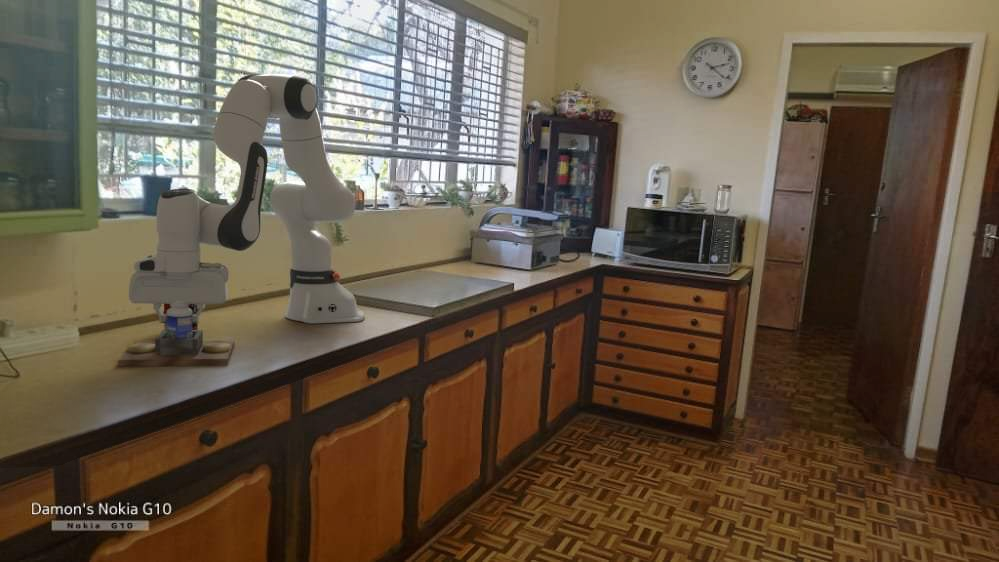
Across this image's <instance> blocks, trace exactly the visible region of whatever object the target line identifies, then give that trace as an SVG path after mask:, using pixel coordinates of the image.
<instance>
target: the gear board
mask: <svg viewBox="0 0 999 562" xmlns="http://www.w3.org/2000/svg"><path fill="white" fill-rule="evenodd" d="M203 333H204V332H203V329H198V330H192V338H167V330H164V329H163V330H161V332H160V333H159V334H158V335H157V336H156V338H155V340H134V341H133V342H132V344H130V345H128V346H127V347H126V350H125V352H124V353H122V355H121V356H120V357H118V360H117V367H119V368H121V367H122V368H126V367H127V368H128V367H130V368H131V367H133V368H134V367H192V366H193V367H194V366H195V367H197V366H200V367H203V366H206V367H207V366H208V367H209V366H228V365H229V362H230V360H231V358H232V354H233V352H234V349H235V346H236V344H235V343H236V341H235V340H204V334H203Z"/></svg>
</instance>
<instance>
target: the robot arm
mask: <svg viewBox="0 0 999 562" xmlns="http://www.w3.org/2000/svg"><path fill="white" fill-rule="evenodd" d="M318 101H319V99H318V91H317V88H316V87H315V85H314V84H313V82H312V81H311V80H310V79H309V78H307V77H304V76H300V75H290V74H282V73H269V74H248V75H247V74H246V75H244V76H242V77H240V78H239V79H238V80H237V81H236V82H234V83H233V85H232V86H231V88H230V90H229V91H228V93H227V95H226V97H225V98H224V100H223V103H222V105H221V106H220V109H219V113H218V115H217V117H216V121H215V123H214V128H213V135H212V137H213V141H214V143H215V145H216V147H217V148H218V150H219V151H220V152H221V153H222V154H223V155H224V156H226V157H227V158H229V159H231V160H232V161H234V162H235V163H237V164H238V165H239V167H240V175H239V181H238V187H237V192H236V197H235V201H234V202H233V203H232V204H230V205H228V204H227V205H225V204H224V205H223V204H217V203H211V202H210V201H207V200H205V199H203V198H201V197H200V196H199V195H198V193H197V191H196V190H194V189H192V188H172V189H169V190H165V191H164V192H162V193H161V194H160V195H159V198H158V202H157V207H156V232H157V235H158V242H157V246H156V254H151V255H148V256H145V257H142V258H139V259H137V260H136V261H135V262H134V264H133V268H134V271H135V272H134V273H132V274H131V277H130V280H129V284H128V285H129V286H128V299H129V301H130V302H131V303H132V304H153V306H152V307H153V310H154V311H155V313H156V314H157V316H158V323H159V324H164V323H167V314H164V311H162V309H161V308H162V307H163V305H164V304H172V303H173V302H174V301H183V303H184V304H197V314H193V315H192V323H198V324H199V323H200V322H201V321H200V319H201V318H200V317H201V314H202V312H203V310H204V309H205V308H206V305H223V304H224V303H226V302H227V300H228V287H227V282H228V281H229V275H230V274H229V269H228V267H227V266H226V265H224V264H222V263H220V262H215V263H210V262H201V246H200V244H203V245H208V246H213V247H220V248H225V249H229V250H233V251H236V252H237V251H239V252H240V251H241V252H242V251H246V250H248V249H249V248H250V247H252V246H253V245H254V244H255V242H256V241H257V240H258V238H259V236H260V232H261V211H262V210H261V209H262V201H263V197H264V190H265V185H266V179H267V178H266V177H267V170H268V152H267V150H266V148H265V147H264V145H263V141H264V137H265V131H266V129H267V124H268V120H269V119H272V120H273V119H274V120H275V119H277V120H278V121H279V132H280V138H281V144H282V150H283V157H284V162H285V164H286V166H287V167H288V169H289V170H291V172H294V173H295V174H296V175H297V176H299V178H300V179H301V181H297V180H294V181H293V180H291V181H284V182H279V183H276V184H275V186H273V188H272V190H270V191H271V192H270V193H269V194H270V195H269V204H270V207H271V210H272V211H273V213H274V214H275V215H276V216H277V217H278V218H279V219H280V220H281V221H282V224H283V225H284V226H285V228H286V231H287V233H288V236H289V240H290V248H291V268H290V269H289V270H290V271H289V280H288V281H289V288H290V291H289V300H288V304H287V308H286V310H285V311H286V312H285V315H284V316H285V318H286V319H288V320H292V321H298V322H303V323H306V324H329V323H332V324H333V323H352V322H353V323H355V322H361V321H363V320H364V319H365V314H364V312H363V311H362V310H360V309H359V308H358V306H357V305H358V304H357V301H356V298H355V296H354V293H352V292H350V291H349V290H348V289H347V288H345V286H343V285H342V284H341V283H339V282H338V281H339V279H340V278H341V275H340V273H339V272H337V271H336V270H334V269H333V268H332V243H331V242H330V241H331V240H329V238H327V237H326V236H325V235H323V234H322V233H321V232H320V230H319V229H318V226H317V223H326V224H328V223H330V224H335V223H336V224H337V223H342V222H343V223H344V222H348V221H349V220H350V219H351V218H352V216H353V215H354V214H355V211H356V207H357V206H356V205H357V203H356V197H355V195H354V192H353V191H352V190H351V189H350V188H348V187H347V186H346V185H344V183H343V182H342V181H340V179H339V178H338V177H337V176H336V174H335V173H334V170H333V169H332V167H331V165H330V163H329V160H328V156H327V153H326V147H325V143H324V142H325V141H324V137H323V130H322V124H321V119H320V116H319V113H318V109H317V105H318Z"/></svg>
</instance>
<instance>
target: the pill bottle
mask: <svg viewBox="0 0 999 562" xmlns="http://www.w3.org/2000/svg"><path fill="white" fill-rule="evenodd" d="M170 306H171V308H170V309H168V310H167V338H192V310H191V309H190V308H188V306H189V304H184V303H183V301H174V302H173V303H172V304H170Z"/></svg>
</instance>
